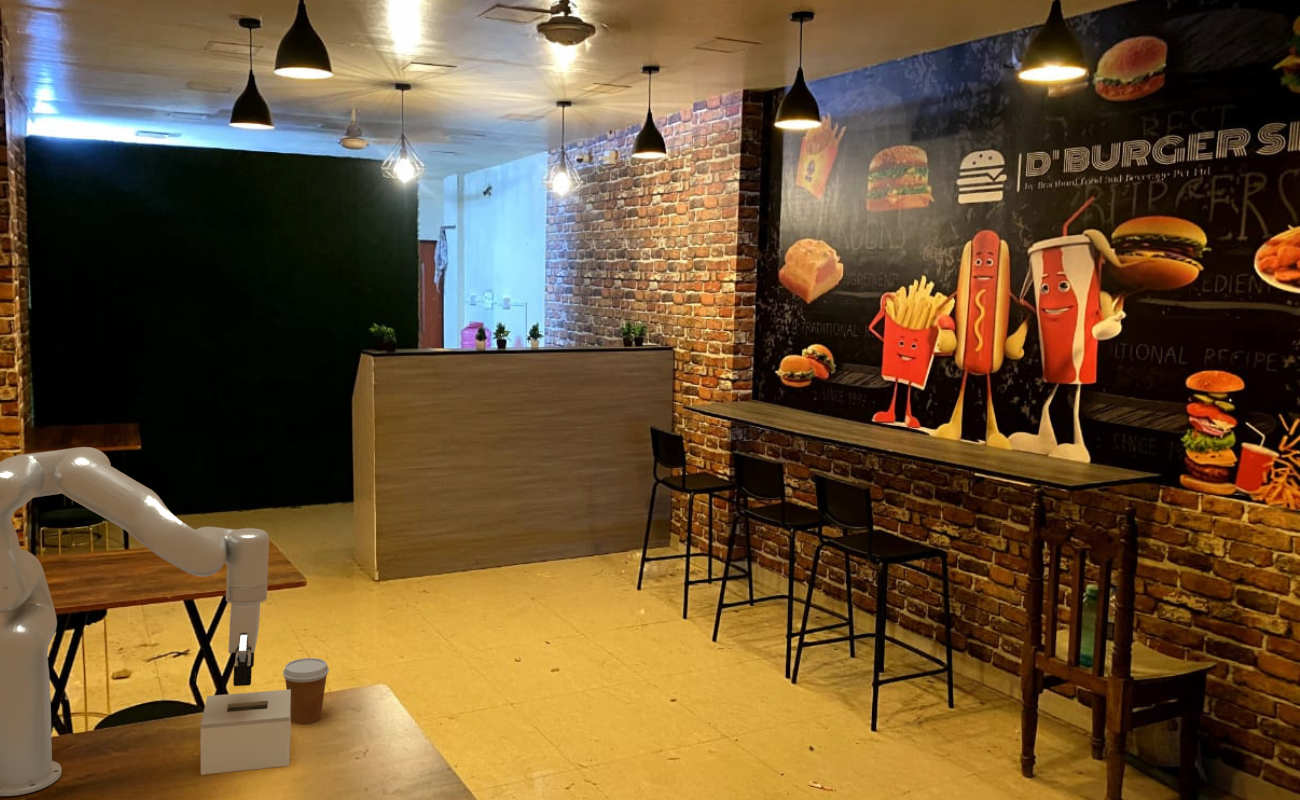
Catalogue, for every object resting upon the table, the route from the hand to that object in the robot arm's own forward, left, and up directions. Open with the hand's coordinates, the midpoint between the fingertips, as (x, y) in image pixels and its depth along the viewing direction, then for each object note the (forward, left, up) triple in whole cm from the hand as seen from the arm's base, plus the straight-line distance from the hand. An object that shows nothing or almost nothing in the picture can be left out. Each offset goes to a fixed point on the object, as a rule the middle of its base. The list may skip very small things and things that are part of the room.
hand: (243, 675), depth 203 cm
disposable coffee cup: (+12, +15, -17) cm, 25 cm away
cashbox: (+1, 0, -16) cm, 16 cm away
